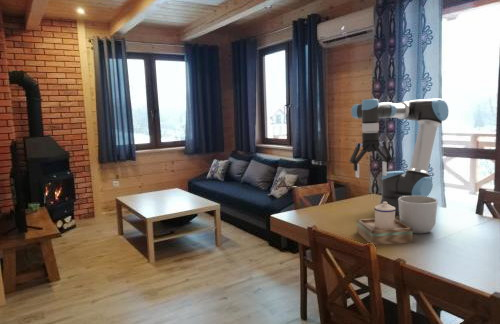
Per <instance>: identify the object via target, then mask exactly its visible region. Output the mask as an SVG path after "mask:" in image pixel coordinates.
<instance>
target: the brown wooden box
mask: <svg viewBox="0 0 500 324" xmlns="http://www.w3.org/2000/svg"><path fill="white" fill-rule="evenodd" d="M412 230H413V229H412V228H411V227H409V226H407V225H406V224H404V223H402V222H401V221H400V219H398V218H396V217H395V228H394V229H378V228H376V227H375V218H362V219H360V218H358V219H356V232H357V233H358V235H360V236H361V237H362V238H363V239H364V240H365V241H366V242H367V243H369V242H370V243H373V244H375V245H376V246H377V245H392V244H395V245H396V244H405V243H406V244H407V243H413V231H412ZM370 243H369V244H370ZM375 245H374V246H375Z"/></svg>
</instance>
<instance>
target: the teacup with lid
mask: <svg viewBox="0 0 500 324" xmlns="http://www.w3.org/2000/svg"><path fill="white" fill-rule="evenodd" d="M379 204H380V203H379ZM379 204H378V205H375V206H374V208H373V210H374V219H375V227H376V228H378V229H394V228H395V218H396V215H395V210H396V208H395V207H393V206H391V205H389V204H387V202H383V204H380V205H379Z"/></svg>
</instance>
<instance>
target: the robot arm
mask: <svg viewBox="0 0 500 324" xmlns="http://www.w3.org/2000/svg"><path fill="white" fill-rule="evenodd" d="M350 114H351V116H352V118H354V119H359V120H361V128H362V129H361V131H362V134H361V137H362V138H361V140H362V143H359V142H356V143H355V148H354V150H353V151H352V152H353V153H352V155H351V157H350V159H349V163H351V164H353V171H355V178H357V179H359V178H360V163H359V162H360V161H361V159H362V158H363V157H364V156H365V155H366V153H371V152H372V153H374V152H376V153H377V154H378V156H379V157H380V158H381V159H382V160H383V161H382V168H381V169H382V175H381V198H380V202H379V204H378V205H380V204H383V202H387V204H389V205H391V206H393V207H395V208H396V210H395V216H399V204H398V198H399V197H402V196H426V197H429V195H430V194H431V192H432V191H433V188H434V187H433V180H432V178H431V173H430V172H429V171H428V170H429V167H430V162H431V157H432V153H433V148H434V145H435V144H434V143H435V138H436V134H437V131H438V130H437V129H438V128H439V127H440V126H441V125H442V122H443V121H446V120H447V119H448V117H449V106H448V103H447V102H446V100H444V99H442V98H435V97H434V98H423V99H413V100H409V101H408V100H407V101H400V102H397V103H394V102H390V101H386V102H385V101H384V102H380V101H379V99H378V98H370V99H369V98H367V99H366V98H365V99H363V100H361V103H356V104H354V105H353V106H352V107H351V109H350ZM392 118H393V119H394V118H397V119H398V120H406V121H407V120H409V121H417V124H418V125H419V128H418V132H417V136H416V141H415V145H414V149H413V154H412V158H411V159H412V160H411V164H410V168H408V169H406V170H405V171H404V170H393V171H387V169H388V168H389V163H390V161H393V157H392V156H391V153H390V151H389V150H388V148H387V143H386V141H384V140H382V141H380V133H379V131H380V128H379V127H380V125H379V121H380V120H379V119H392ZM379 146H380V147H381V149H382V151H383V152H382V151H381V149H380V148H379ZM361 148H362V149H361ZM359 151H360V152H359ZM358 153H359V154H358Z"/></svg>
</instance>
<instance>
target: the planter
mask: <svg viewBox="0 0 500 324" xmlns="http://www.w3.org/2000/svg"><path fill="white" fill-rule="evenodd" d="M438 202H439V201H438V199H436V198H435V197H431V196H427V197H426V196H402V197H399V198H398V204H399V215H398V216H399V219H398V220H399V221H401V222H402V223H404V224H406V225H407V226H409V227H411V228H412V229H413V230H412V231H413V233H414V234H427V233H429V232H431V231H432V230H433V229H434V227H435V225H436V221H437V213H438V212H437V211H438Z"/></svg>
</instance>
